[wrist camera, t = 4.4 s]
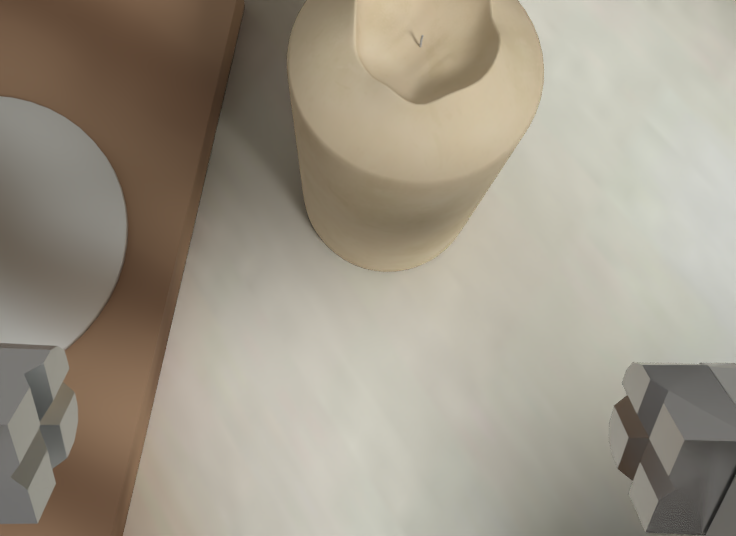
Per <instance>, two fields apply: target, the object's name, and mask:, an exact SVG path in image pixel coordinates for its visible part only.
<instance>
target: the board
mask: <svg viewBox="0 0 736 536" xmlns="http://www.w3.org/2000/svg"><path fill="white" fill-rule="evenodd" d="M244 7H245V4H244V0H0V343H12V344H32V345H51V346H59V347H60V348H62V349H63V350H65V354H66V357H67V361H68V365H69V370H68V372H67V374H66V376H65V378H64V380H63V382H64V383H65V384H66V385H67V386H68V387H69V388H71V389H72V390H73V391H74V392H75V395H76V400H77V405H78V424H77V430H76V435H75V440H74V443H73V446H72V448H71V450H70V453H69V455H68V458H66V459H65V460H64V461H62V462H61V463H60V464H58V465H57V466H56V467H54V468H53V469H52V470H53V474H54V478H55V482H56V484H55V487H54V489H53V491H52V493H51V495H50V498H49V500H48V502H47V504H46V506H45V509H44V511H43V513H42V515H41V517H40V520H39V522H38V524H0V536H123V532H124V527H125V523H126V519H127V514H128V510H129V506H130V501H131V497H132V493H133V488H134V484H135V480H136V475H137V471H138V467H139V462H140V458H141V454H142V449H143V445H144V441H145V436H146V432H147V428H148V423H149V419H150V415H151V410H152V406H153V402H154V397H155V393H156V389H157V384H158V380H159V375H160V371H161V367H162V362H163V358H164V354H165V349H166V345H167V341H168V336H169V332H170V328H171V323H172V319H173V315H174V310H175V306H176V302H177V297H178V293H179V289H180V284H181V280H182V276H183V271H184V267H185V263H186V258H187V254H188V250H189V245H190V241H191V237H192V232H193V228H194V224H195V219H196V215H197V211H198V206H199V202H200V198H201V193H202V189H203V185H204V180H205V176H206V172H207V167H208V163H209V159H210V154H211V150H212V146H213V141H214V137H215V133H216V128H217V124H218V120H219V115H220V111H221V107H222V102H223V98H224V94H225V89H226V85H227V81H228V76H229V72H230V68H231V63H232V59H233V55H234V50H235V46H236V42H237V37H238V33H239V29H240V24H241V20H242V15H243V11H244Z"/></svg>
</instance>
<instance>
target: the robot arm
mask: <svg viewBox="0 0 736 536" xmlns="http://www.w3.org/2000/svg"><path fill="white" fill-rule="evenodd" d="M68 370H69V365H68V361H67V357H66V354H65V350H63V349H62V348H60V347H59V346H51V345H32V344H12V343H0V524H38V522H39V520H40V517H41V515H42V513H43V511H44V509H45V506H46V504H47V502H48V500H49V498H50V495H51V493H52V491H53V489H54V487H55V484H56V482H55V478H54V474H53V470H52V469H53V468H54V467H56V466H57V465H58V464H60V463H61V462H62V461H64V460H65V459H66V458H68V455H69V453H70V450H71V448H72V446H73V443H74V440H75V435H76V430H77V424H78V405H77V400H76V395H75V392H74V391H73V390H72V389H71V388H69V387H68V386H67V385H66V384H65V383H64V382H63V380H64V378H65V376H66V374H67V372H68ZM622 385H623V387H624V389H625V391H626V393H627V396H626V397H624V398H623V399H622V400H621V401H619V402H618V403H617V404H616V405H614V408H613V411H612V415H611V418H610V422H609V443H610V448H611V453H612V456H613V459H614V461H615V464H616V466H617V468H618V469H619V470H620V471H621V472H622V473H624V474H625V475H626V476H627V477H629V478H630V479H631V480H632V481H633V482H632V485H631V488H630V490H629V493H628V494H629V497H630V499H631V501H632V503H633V506H634V508H635V510H636V513H637V515H638V517H639V519H640V522H641V524H642V526H643V529H644V531H645V533H668V534H691V535H705V536H736V364H735V363H700V364H685V363H641V362H633V363H632V364H631V365H630V366H629V367H628V369H627V370H626V372H625V375H624V378H623V381H622Z"/></svg>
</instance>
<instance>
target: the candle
mask: <svg viewBox="0 0 736 536" xmlns="http://www.w3.org/2000/svg"><path fill="white" fill-rule="evenodd" d="M287 76H288V84H289V91H290V99H291V107H292V114H293V122H294V129H295V137H296V144H297V152H298V160H299V167H300V175H301V182H302V190H303V196H304V202H305V207H306V210H307V213H308V217H309V219H310V221H311V223H312V226H313V228H314V229H315V231H316V232H317V234H318V235H319V237H320V238H321V239H322V240H323V242H324V243H325V244H326V245H327V246H328V247H329V248H330V249H331V250H332V251H333V252H334V253H335V254H337V255H338V256H340V257H341V258H343V259H344V260H346V261H348V262H350V263H352V264H354V265H356V266H359V267H362V268H365V269H369V270H374V271H383V272H392V271H402V270H407V269H411V268H414V267H417V266H420V265H422V264H424V263H426V262H428V261H430V260H432V259H433V258H435V257H437V256H438V255H439V254H441V253H442V252H443V251H444V250H445V249H447V248H448V246H449V245H450V244H451V243H452V242H453V241H454V240H455V238H456V237H457V236H458V234H459V233H460V231H461V230H462V229H463V227H464V226H465V224H466V223H467V221H468V220H469V218H470V217H471V215H472V213H473V212H474V210H475V209H476V207H477V206H478V204H479V203H480V201H481V200H482V198H483V197H484V195H485V194H486V192H487V191H488V189H489V187H490V186H491V184H492V183H493V181H494V180H495V178H496V177H497V175H498V174H499V172H500V171H501V169H502V168H503V166H504V165H505V163H506V161H507V160H508V158H509V157H510V155H511V154H512V152H513V151H514V149H515V148H516V146H517V145H518V143H519V142H520V140H521V139H522V137H523V135H524V134H525V132H526V131H527V129H528V128H529V126H530V124H531V122H532V120H533V118H534V116H535V114H536V111H537V108H538V105H539V102H540V99H541V95H542V89H543V83H544V63H543V54H542V50H541V46H540V42H539V38H538V35H537V33H536V30H535V28H534V26H533V23H532V21H531V20H530V18H529V16H528V14H527V13H526V11H525V9H524V8H523V7H522V5H521V4H520V3H519V1H518V0H306V2H305V4H304V5H303V7H302V8H301V10H300V12H299V14H298V16H297V18H296V20H295V23H294V25H293V28H292V31H291V35H290V38H289V43H288V51H287Z"/></svg>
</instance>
